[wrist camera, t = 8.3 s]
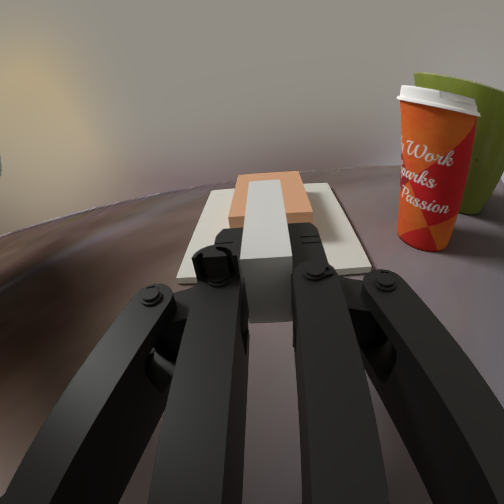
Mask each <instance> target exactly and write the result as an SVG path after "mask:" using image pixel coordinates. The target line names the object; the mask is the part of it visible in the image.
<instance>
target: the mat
mask: <svg viewBox="0 0 504 504" xmlns="http://www.w3.org/2000/svg"><path fill="white" fill-rule="evenodd" d="M303 185H304V188H305V191H306V193H307V196H308V199H309V202H310V204H311V207H312V210H313V225H314V226H315V227H316V228H317V229H318V232H319V235H320V238H321V241H322V244H323V247H324V250H325V254H326V257H327V260H328V263H329V264H330V265H331V266H333V267H334V269H335V270H336V272H337V274H338V275H347V274H360V273H368V272H371V267H372V266H371V264H370V262H369V260H368V258H367V256H366V254H365V252H364V250H363V248H362V246H361V244H360V242H359V240H358V238H357V236H356V234H355V232H354V230H353V228H352V226H351V225H350V223H349V221H348V219H347V217H346V215H345V213H344V212H343V210H342V208H341V206H340V204H339V203H338V201H337V199H336V197H335V196H334V194H333V192H332V190H331V189H330V187H329V185H328V183H313V184H303ZM234 191H235V189H224V190H213V191H211V194H210V196H209V198H208V200H207V203H206V205H205V207H204V210H203V212H202V215H201V217H200V219H199V222H198V224H197V227H196V229H195V231H194V234H193V236H192V239H191V241H190V244H189V246H188V249H187V251H186V254H185V256H184V259H183V261H182V264H181V267H180V269H179V272H178V274H177V277H176V279H177V282H178V284H187V283H197V278H196V274H195V270H194V266H193V262H192V259H191V258H192V257H193V255H194V254H195V253H196V252H197V251H198V250H200V249H202V248H204V247H207V246H210V245H214V242H215V238H216V235H217V234H218V233H219V232H220V231H221V230H222V229H227V228H230V227H229V220H228V215H229V211H230V207H231V203H232V199H233V195H234Z"/></svg>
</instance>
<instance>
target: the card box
mask: <svg viewBox="0 0 504 504" xmlns="http://www.w3.org/2000/svg"><path fill="white" fill-rule="evenodd" d="M278 179H280V183H281V189H282V195H283V201H284V207H285V213H286V219H287V223H304V222H310V223H312V224H313V210H312V207H311V204H310V202H309V199H308V196H307V193H306V191H305V188H304V185H303V182H302V180H301V177H300V174H299V172H298V171H292V172H291V171H290V172H275V173H274V172H273V173H259V174H246V175H238V179H237V183H236V187H235V191H234V195H233V199H232V203H231V207H230V211H229V215H228V220H229V227H230V228H241V227H244V219H245V211H246V203H247V194H248V186H249V182H250V181H263V180H278Z"/></svg>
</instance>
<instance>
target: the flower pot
mask: <svg viewBox="0 0 504 504" xmlns="http://www.w3.org/2000/svg"><path fill="white" fill-rule="evenodd" d="M414 78H415V85H416V87H422V88H428V89H434V90H439V91H444V92H449V93H453V94H457V95H461V96H465V97H469V98H472V99H475V103H476V105H477V112H479V113H480V116H481V117H479V116H477V122H476V131H475V138H474V144H473V150H472V156H471V162H470V167H469V172H468V176H467V181H466V185H465V189H464V193H463V197H462V201H461V205H460V209H459V213H463V214H477V213H479V212H480V211H481V209H482V208H483V207H484V205H485V204H486V202H487V200H488V199H489V197H490V196H491V194H492V193H493V191H494V189H495V187H496V185H497V184H498V182H499V180H500V178H501V176H502V174H503V172H504V91H502V90H498V89H495V88H493V87H490V86H487V85H484V84H481V83H477V82H473V81H470V80H466V79H462V78H457V77H452V76H446V75H441V74H433V73H423V72H415V73H414Z"/></svg>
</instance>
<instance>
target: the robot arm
mask: <svg viewBox="0 0 504 504" xmlns="http://www.w3.org/2000/svg"><path fill="white" fill-rule="evenodd" d="M0 176H1V157H0ZM191 259H192V262H193V266H194V270H195V274H196V278H197V283H196V286H194V287H192V288H189V289H186V290H183V291H179V292H175V293H173V292H172V290H171V289H170V288H169V286H167V285H164V284H152V285H148V286H146V287H144V288H142V289H140V290H139V291H138V292H137V293H136V294H135V295H134V296H133V298H132V299H131V300H130V301H129V303H128V304H127V305H126V306H125V308H124V309H123V310H122V312H121V313H120V314H119V316H118V317H117V318H116V319H115V321H114V322H113V323H112V325H111V326H110V327H109V329H108V330H107V331H106V333H105V334H104V336H103V337H102V338H101V340H100V341H99V342H98V344H97V345H96V346H95V348H94V349H93V351H92V352H91V353H90V355H89V356H88V358H87V359H86V360H85V362H84V363H83V365H82V366H81V368H80V369H79V370H78V372H77V373H76V375H75V376H74V378H73V379H72V381H71V382H70V384H69V385H68V387H67V388H66V390H65V391H64V393H63V394H62V396H61V397H60V399H59V400H58V402H57V403H56V405H55V406H54V408H53V410H52V411H51V413H50V414H49V416H48V417H47V419H46V421H45V422H44V424H43V426H42V427H41V429H40V431H39V432H38V434H37V436H36V437H35V439H34V441H33V442H32V444H31V446H30V447H29V449H28V451H27V453H26V455H25V456H24V458H23V460H22V462H21V464H20V465H19V467H18V469H17V471H16V473H15V475H14V477H13V479H12V480H11V482H10V484H9V486H8V488H7V490H6V492H5V494H4V495H3V496H2V497H0V504H118V503H119V501H120V499H121V497H122V495H123V493H124V491H125V489H126V487H127V485H128V483H129V481H130V479H131V476H132V474H133V472H134V470H135V468H136V466H137V464H138V462H139V460H140V458H141V456H142V454H143V452H144V450H145V448H146V446H147V444H148V442H149V440H150V438H151V436H152V434H153V432H154V430H155V428H156V426H157V424H158V422H159V420H160V418H161V416H162V414H163V412H164V410H165V414H164V418H163V423H162V428H161V433H160V438H159V443H158V448H157V453H156V459H155V464H154V469H153V475H152V481H151V487H150V493H149V499H148V504H242V489H243V468H244V447H245V425H246V404H247V382H248V360H249V338H250V335H249V329H248V317H249V323H250V324H251V323H272V322H289V321H293V347H294V352H295V365H296V379H297V394H298V410H299V427H300V448H301V472H302V504H389V501H388V492H387V485H386V477H385V470H384V464H383V458H382V452H381V446H380V440H379V435H378V429H377V424H376V419H375V414H374V409H373V405H372V400H371V395H370V391H369V387H368V382H367V378H366V374H365V370H366V372H367V374H368V376H369V378H370V379H371V381H372V383H373V385H374V387H375V389H376V390H377V392H378V394H379V396H380V398H381V400H382V402H383V404H384V405H385V407H386V409H387V411H388V413H389V415H390V417H391V419H392V421H393V423H394V424H395V426H396V428H397V430H398V432H399V434H400V436H401V438H402V440H403V442H404V444H405V446H406V448H407V450H408V452H409V454H410V456H411V458H412V460H413V462H414V464H415V466H416V468H417V470H418V472H419V474H420V477H421V479H422V481H423V483H424V485H425V487H426V489H427V491H428V494H429V496H430V498H431V500H432V502H433V504H504V409H503V407H502V406H501V404H500V402H499V401H498V399H497V398H496V396H495V395H494V393H493V392H492V390H491V389H490V387H489V386H488V384H487V383H486V381H485V380H484V379H483V377H482V376H481V374H480V373H479V372H478V370H477V369H476V367H475V366H474V365H473V363H472V362H471V361H470V359H469V358H468V357H467V355H466V354H465V353H464V351H463V350H462V349H461V347H460V346H459V345H458V343H457V342H456V341H455V340H454V338H453V337H452V336H451V335H450V333H449V332H448V331H447V330H446V328H445V327H444V326H443V325H442V323H441V322H440V321H439V320H438V319H437V317H436V316H435V315H434V314H433V313H432V311H431V310H430V309H429V308H428V307H427V306H426V304H425V303H424V302H423V301H422V300H421V299H420V297H419V296H418V295H417V294H416V293H415V292H414V291H413V290H412V288H411V287H410V286H409V285H408V284H407V283H406V282H405V281H404V280H403V278H401V277H400V276H399V275H398V274H396V273H394V272H392V271H389V270H383V269H379V270H373V271H371V272H368V273H367V274H366V275H365V276H364V278H363V281H361V280H354V279H349V278H344V277H342V276H340V275H338V274H337V272H336V270H335V269H334V267H333V266H331V265H330V264H329V263H328V260H327V257H326V254H325V250H324V247H323V244H322V241H321V238H320V235H319V232H318V229H317V228H316V227H315V226H314V225H313V224H312V223H310V222H304V223H287V219H286V213H285V207H284V201H283V195H282V189H281V183H280V179H278V180H263V181H250V182H249V186H248V194H247V203H246V211H245V219H244V227H241V228H227V229H222V230H221V231H220V232H219V233H218V234H217V235H216V238H215V242H214V245H210V246H207V247H204V248H202V249H200V250H198V251H197V252H196V253H195V254H194V255H193V257H192V258H191ZM364 369H365V370H364ZM165 408H166V409H165Z"/></svg>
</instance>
